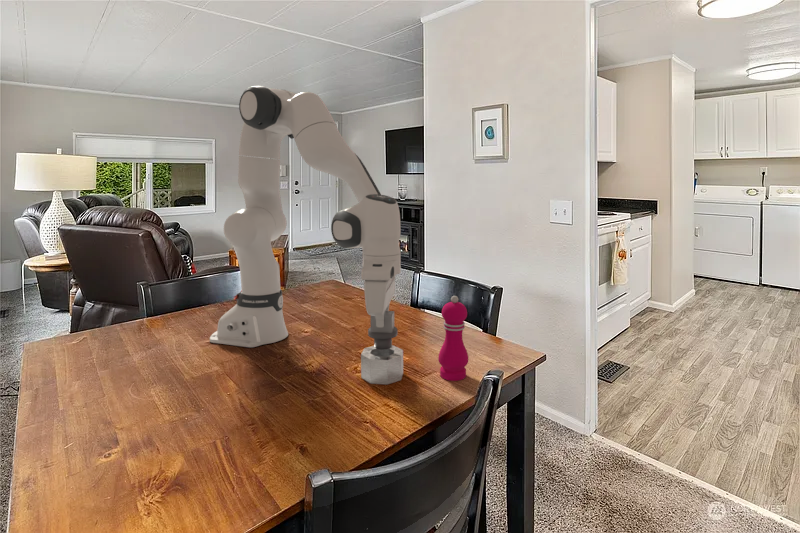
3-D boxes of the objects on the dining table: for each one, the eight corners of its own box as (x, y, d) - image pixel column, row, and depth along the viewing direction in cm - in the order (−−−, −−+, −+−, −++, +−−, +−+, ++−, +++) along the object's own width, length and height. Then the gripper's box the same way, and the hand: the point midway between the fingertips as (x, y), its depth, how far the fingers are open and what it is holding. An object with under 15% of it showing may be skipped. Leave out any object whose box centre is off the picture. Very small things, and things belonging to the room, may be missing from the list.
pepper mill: (435, 370, 116) (437, 292, 112) (464, 369, 116) (466, 291, 113) (440, 382, 109) (442, 300, 105) (471, 381, 109) (473, 299, 106)
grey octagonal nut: (358, 383, 109) (358, 358, 107) (366, 366, 118) (366, 344, 117) (399, 385, 107) (399, 360, 106) (404, 368, 117) (404, 345, 116)
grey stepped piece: (365, 351, 108) (365, 317, 107) (371, 340, 115) (370, 308, 114) (395, 352, 107) (395, 318, 106) (399, 341, 114) (399, 309, 113)
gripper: (376, 257, 118) (376, 309, 121) (359, 274, 98) (360, 336, 101) (400, 258, 117) (400, 310, 120) (388, 274, 97) (389, 337, 100)
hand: (382, 322), depth 110 cm, fingers closed on grey stepped piece, 4 cm apart
